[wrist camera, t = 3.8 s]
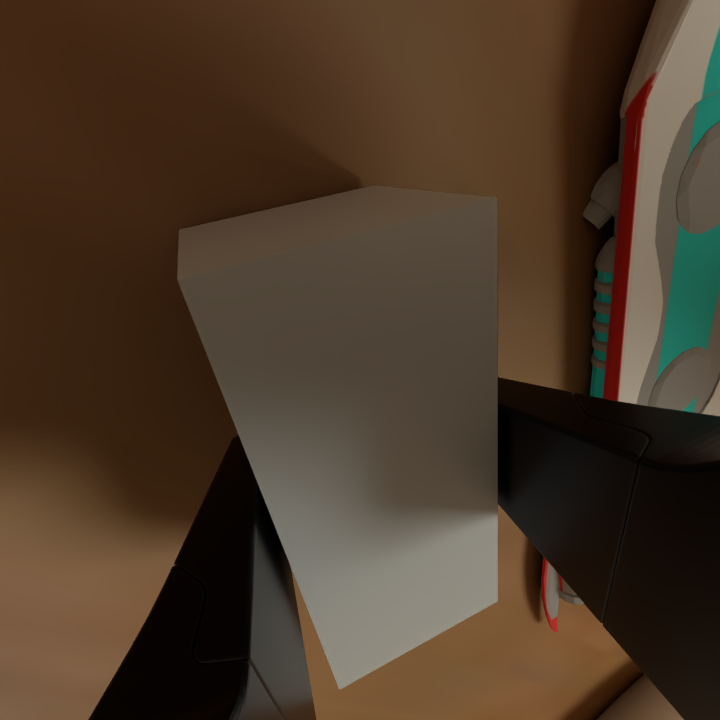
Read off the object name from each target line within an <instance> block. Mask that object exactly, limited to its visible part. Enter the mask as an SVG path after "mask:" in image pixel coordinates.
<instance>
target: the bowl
mask: <svg viewBox="0 0 720 720" xmlns="http://www.w3.org/2000/svg"><path fill="white" fill-rule="evenodd" d="M596 720H684V719H683V718H682V717H681V716H680V715H679V713H678V712H677V711H676V710H675V709H674V708H673V706H672V705H671V704H670V703H669V702H668V701H667V700H666V698H665V697H664V696H663V695H662V694H661V693H660V691H659V690H658V689H657V688H656V687H655V686H654V684H653V683H652V682H651V681H650V680H649V679H648V678H647V676H646V675H645V674H644V675H643V676H642V677H640V678H639V679H638V680H637V681H636V682H635V683H634V684H632V685H631V686H630V687H629V688H628V689H627V690H626V691H625V692H624V693H622V694H621V695H620V696H619V697H618V698H617V699H616V700H615V701H614V702H613V703H612V704H611V705H610V706H609V707H608V708H607V709H606V710H605V711H604V712H603V713H602V714H601V715H600V716H599V717H598V718H597V719H596Z"/></svg>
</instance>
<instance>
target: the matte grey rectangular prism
mask: <svg viewBox="0 0 720 720" xmlns="http://www.w3.org/2000/svg"><path fill="white" fill-rule="evenodd" d="M177 281H178V283H179V286H180V288H181V291H182V293H183V296H184V298H185V301H186V303H187V306H188V308H189V311H190V313H191V316H192V318H193V321H194V323H195V326H196V328H197V331H198V334H199V336H200V339H201V341H202V344H203V346H204V349H205V351H206V354H207V356H208V359H209V361H210V364H211V366H212V369H213V371H214V374H215V376H216V379H217V381H218V384H219V387H220V389H221V392H222V394H223V397H224V399H225V402H226V404H227V407H228V409H229V412H230V414H231V417H232V419H233V422H234V424H235V427H236V429H237V432H238V435H239V437H240V440H241V442H242V445H243V447H244V450H245V452H246V455H247V457H248V460H249V462H250V465H251V467H252V470H253V472H254V475H255V477H256V480H257V482H258V485H259V488H260V490H261V493H262V495H263V498H264V500H265V503H266V505H267V508H268V510H269V513H270V515H271V518H272V520H273V523H274V525H275V528H276V530H277V533H278V535H279V538H280V541H281V543H282V546H283V548H284V551H285V553H286V556H287V558H288V561H289V563H290V566H291V568H292V571H293V573H294V576H295V578H296V581H297V583H298V586H299V588H300V591H301V594H302V596H303V599H304V601H305V604H306V606H307V609H308V611H309V614H310V616H311V619H312V621H313V624H314V626H315V629H316V631H317V634H318V636H319V639H320V642H321V644H322V647H323V649H324V652H325V654H326V657H327V659H328V662H329V664H330V667H331V669H332V672H333V674H334V677H335V679H336V682H337V684H338V687H339V689H342V688H343V687H345V686H347V685H349V684H351V683H352V682H354V681H356V680H358V679H360V678H361V677H363V676H365V675H367V674H369V673H370V672H372V671H374V670H376V669H377V668H379V667H381V666H383V665H385V664H386V663H388V662H390V661H392V660H394V659H395V658H397V657H399V656H401V655H403V654H404V653H406V652H408V651H410V650H411V649H413V648H415V647H417V646H419V645H420V644H422V643H424V642H426V641H428V640H429V639H431V638H433V637H435V636H436V635H438V634H440V633H442V632H444V631H445V630H447V629H449V628H451V627H453V626H454V625H456V624H458V623H460V622H462V621H463V620H465V619H467V618H469V617H470V616H472V615H474V614H476V613H478V612H479V611H481V610H483V609H485V608H487V607H488V606H490V605H492V604H494V603H496V602H497V601H498V197H489V196H478V195H468V194H458V193H447V192H437V191H427V190H417V189H406V188H396V187H386V186H376V185H373V186H369V187H364V188H360V189H355V190H351V191H347V192H342V193H338V194H333V195H329V196H325V197H320V198H316V199H311V200H307V201H303V202H298V203H294V204H289V205H285V206H280V207H276V208H272V209H267V210H263V211H258V212H254V213H250V214H245V215H241V216H236V217H232V218H228V219H223V220H219V221H214V222H210V223H206V224H201V225H197V226H192V227H188V228H183V229H179V242H178V270H177Z"/></svg>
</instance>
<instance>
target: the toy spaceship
mask: <svg viewBox="0 0 720 720" xmlns="http://www.w3.org/2000/svg"><path fill="white" fill-rule="evenodd" d="M620 118H621V125H620V141H619V157H618V162H616V163H614V164H613V165H611V166H610V167H609V168H608V169H607V170H606V171H605V172H604V173H603V174H602V176H601V177H600V178H599V180H598V181H597V183H596V184H595V186H594V188H593V191H592V193H591V196H590V198H591V200H590V202H589V203H588V205H587V207H586V208H585V210H584V213H583V215H582V216H583V217H585V218H586V219H588V220H589V221H590V222H591V223H593V224H594V225H595V226H596V228H597V229H600V228H601V227H602V226H603V225H604V224H605V223H606V222H607V221H608V220H609V219H610V218H611V217H612V216H613V217H615V221H614V236H612V237H610V238H609V240H608V241H607V242H606V243H605V244H604V246H603V248H602V249H601V251H600V253H599V254H598V256H597V259H596V263H595V268H596V269H597V270H598V277H596V278H595V281H594V290H595V291H597V296H596V297H595V298H594V310H595V311H596V316H595V317H594V318H593V328H594V330H595V334H594V335H593V336H592V346H593V347H594V352H593V353H592V355H591V362H592V365H593V368H592V378H591V388H590V396H593V397H598V398H604V399H609V400H614V401H620V402H626V403H633V404H639V405H646V406H652V407H659V408H666V409H673V410H680V411H687V412H694V413H701V414H708V415H715V416H720V0H656V2H655V5H654V8H653V11H652V13H651V16H650V19H649V22H648V25H647V27H646V30H645V33H644V36H643V39H642V42H641V44H640V47H639V50H638V53H637V56H636V59H635V62H634V65H633V68H632V71H631V73H630V76H629V79H628V82H627V85H626V88H625V91H624V95H623V100H622V104H621V108H620ZM541 596H542V601H543V606H544V610H545V614H546V617H547V620H548V622H549V625H550V627H551V629H552V630H553V631H554V632H557V631H558V630H557V615H558V604H559V598H560V597H561V598H562V599H563V600H564V601H566V602H569V603H572V604H584V603H583V602H582V601H581V599H580V598H579V597H578V596H577V595H576V594H575V592H574V591H573V590H572V589H571V588H570V587H569V585H568V584H567V583H566V582H565V581H564V580H563V579H562V577H561V576H560V575H559V574H558V573H557V572H556V570H555V569H554V568H553V567H552V566H551V565H550V563H549V562H548V561H547V560H546V559H545V558H544V557H543V565H542V578H541Z"/></svg>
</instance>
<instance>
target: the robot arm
mask: <svg viewBox="0 0 720 720" xmlns="http://www.w3.org/2000/svg"><path fill="white" fill-rule="evenodd" d="M498 504H499V505H500V507H501V508H502V509H503V510H504V511H505V512H506V514H507V515H508V516H509V517H510V518H511V519H512V521H513V522H514V523H515V524H516V525H517V526H518V528H519V529H520V530H521V531H522V532H523V533H524V534H525V536H526V537H527V538H528V539H529V540H530V541H531V543H532V544H533V545H534V546H535V547H536V548H537V550H538V551H539V552H540V553H541V554H542V555H543V557H544V558H545V559H546V560H547V561H548V562H549V563H550V565H551V566H552V567H553V568H554V569H555V570H556V572H557V573H558V574H559V575H560V576H561V577H562V579H563V580H564V581H565V582H566V583H567V584H568V585H569V587H570V588H571V589H572V590H573V591H574V592H575V594H576V595H577V596H578V597H579V598H580V599H581V601H582V602H583V603H584V604H585V605H586V606H587V608H588V609H589V610H590V611H591V612H592V613H593V614H594V616H595V617H596V618H597V619H598V620H599V621H600V622H601V623H603V626H604V628H605V629H606V630H607V631H608V632H609V633H610V635H611V636H612V637H613V638H614V639H615V640H616V642H617V643H618V644H619V645H620V646H621V647H622V649H623V650H624V651H625V652H626V653H627V654H628V655H629V657H630V658H631V659H632V660H633V661H634V662H635V664H636V665H637V666H638V667H639V668H640V669H641V671H642V672H643V673H644V674H645V675H646V676H647V678H648V679H649V680H650V681H651V682H652V683H653V684H654V686H655V687H656V688H657V689H658V690H659V691H660V693H661V694H662V695H663V696H664V697H665V698H666V700H667V701H668V702H669V703H670V704H671V705H672V706H673V708H674V709H675V710H676V711H677V712H678V713H679V715H680V716H681V717H682V718H683V719H684V720H720V416H715V415H708V414H701V413H694V412H687V411H680V410H673V409H666V408H659V407H652V406H646V405H639V404H633V403H626V402H620V401H614V400H609V399H604V398H598V397H593V396H588V395H583V394H578V393H574V394H573V393H572V392H568V391H563V390H558V389H553V388H548V387H543V386H538V385H534V384H529V383H524V382H519V381H514V380H509V379H504V378H499V377H498ZM174 565H175V566H173V567H172V568H171V571H170V573H169V575H168V577H167V579H166V581H165V583H164V585H163V587H162V589H161V591H160V593H159V595H158V597H157V599H156V601H155V603H154V605H153V607H152V609H151V611H150V613H149V615H148V617H147V619H146V621H145V623H144V624H143V626H142V628H141V630H140V632H139V633H138V635H137V637H136V639H135V640H134V642H133V644H132V646H131V648H130V649H129V651H128V653H127V655H126V656H125V658H124V660H123V661H122V663H121V665H120V667H119V668H118V670H117V672H116V673H115V675H114V677H113V678H112V680H111V682H110V684H109V685H108V687H107V689H106V690H105V692H104V694H103V696H102V697H101V699H100V701H99V702H98V704H97V706H96V707H95V709H94V711H93V713H92V714H91V716H90V718H89V719H88V720H316V716H315V710H314V704H313V698H312V692H311V686H310V680H309V674H308V668H307V662H306V656H305V650H304V644H303V638H302V632H301V626H300V620H299V614H298V608H297V602H296V596H295V590H294V584H293V578H292V572H291V566H290V563H289V561H288V558H287V556H286V553H285V551H284V548H283V546H282V543H281V541H280V538H279V535H278V533H277V530H276V528H275V525H274V523H273V520H272V518H271V515H270V513H269V510H268V508H267V505H266V503H265V500H264V498H263V495H262V493H261V490H260V488H259V485H258V482H257V480H256V477H255V475H254V472H253V470H252V467H251V465H250V462H249V460H248V457H247V455H246V452H245V450H244V447H243V445H242V442H241V440H240V437H239V436H236V437H234V438H233V439H232V440H231V443H230V445H229V447H228V449H227V451H226V453H225V455H224V458H223V460H222V462H221V464H220V466H219V468H218V470H217V473H216V475H215V477H214V479H213V481H212V483H211V485H210V488H209V490H208V492H207V494H206V496H205V498H204V500H203V503H202V505H201V507H200V509H199V511H198V513H197V515H196V517H195V520H194V522H193V524H192V526H191V528H190V530H189V532H188V535H187V537H186V539H185V541H184V543H183V545H182V547H181V550H180V552H179V554H178V556H177V558H176V560H175V562H174Z"/></svg>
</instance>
